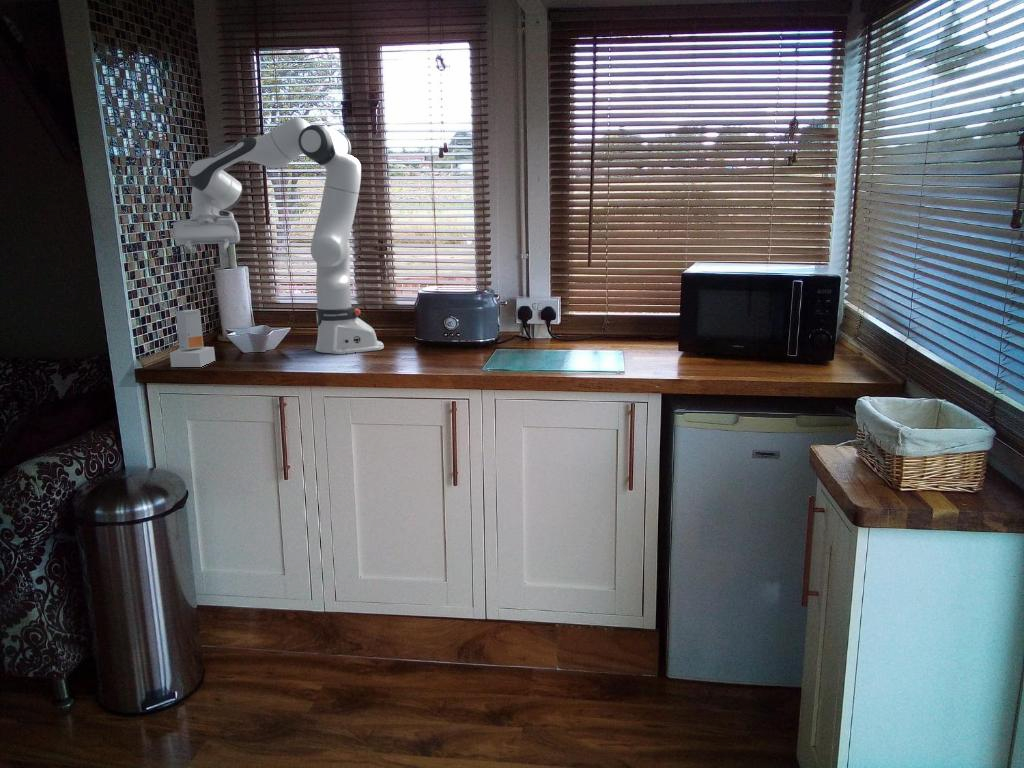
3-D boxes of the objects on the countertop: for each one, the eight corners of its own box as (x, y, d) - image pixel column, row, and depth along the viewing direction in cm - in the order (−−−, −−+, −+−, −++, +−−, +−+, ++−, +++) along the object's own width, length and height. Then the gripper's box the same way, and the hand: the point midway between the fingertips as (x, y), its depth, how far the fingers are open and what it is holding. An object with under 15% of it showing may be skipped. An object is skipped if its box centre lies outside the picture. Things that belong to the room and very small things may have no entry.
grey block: (215, 362, 264) (213, 346, 262) (200, 369, 254) (199, 353, 253) (186, 362, 265) (185, 346, 264) (171, 368, 256) (169, 352, 254)
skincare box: (187, 350, 255) (183, 311, 253) (179, 349, 257) (174, 311, 255) (204, 347, 260) (200, 309, 258) (196, 347, 262) (191, 309, 260)
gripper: (171, 213, 270) (172, 246, 263) (237, 212, 276) (240, 244, 269) (174, 227, 275) (175, 259, 268) (238, 225, 281) (241, 256, 274)
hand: (208, 251), depth 269 cm, fingers open, 8 cm apart
